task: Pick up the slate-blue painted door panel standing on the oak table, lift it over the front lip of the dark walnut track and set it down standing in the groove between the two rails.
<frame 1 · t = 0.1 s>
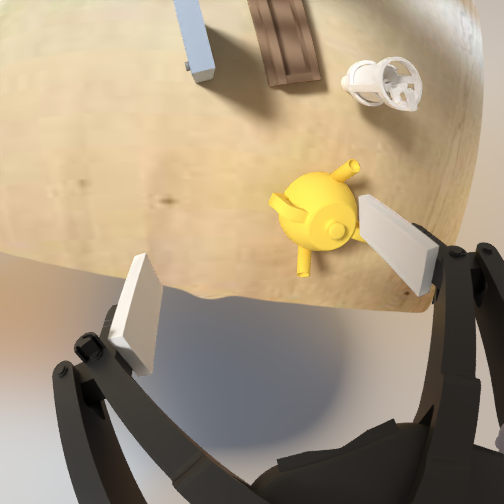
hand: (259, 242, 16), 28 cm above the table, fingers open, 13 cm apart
strainer: (349, 84, 36), on the table
teapot: (310, 203, 46), on the table
door panel: (196, 51, 31), on the table
track: (280, 25, 30), on the table
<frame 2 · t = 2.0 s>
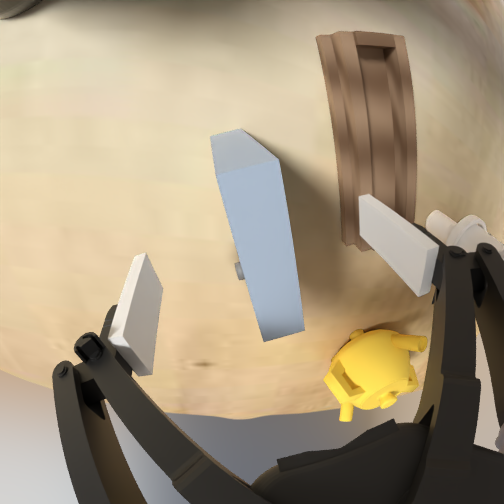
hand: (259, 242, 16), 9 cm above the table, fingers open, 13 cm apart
strainer: (433, 220, 29), on the table
teapot: (359, 346, 39), on the table
door panel: (239, 188, 23), on the table
track: (372, 139, 22), on the table
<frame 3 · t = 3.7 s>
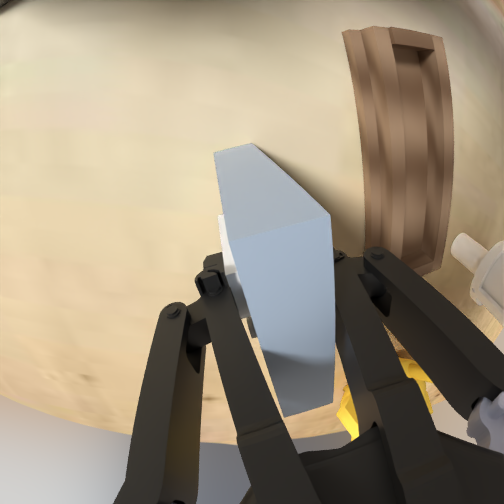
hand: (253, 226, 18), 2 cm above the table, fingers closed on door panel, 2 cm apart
strainer: (458, 243, 25), on the table
teapot: (372, 373, 35), on the table
door panel: (249, 216, 19), on the table, touching gripper
track: (403, 157, 18), on the table
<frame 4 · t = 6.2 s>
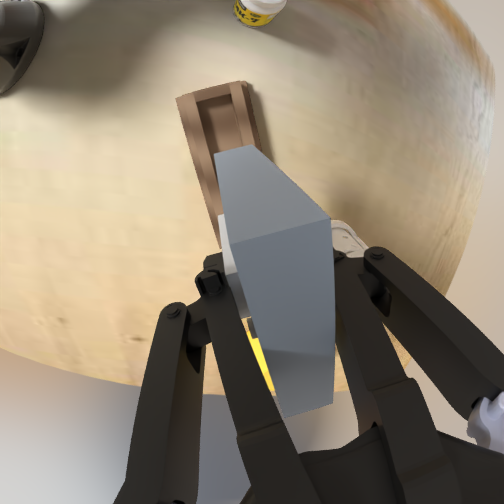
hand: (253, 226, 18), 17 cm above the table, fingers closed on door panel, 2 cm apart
strainer: (313, 226, 38), on the table
teapot: (268, 335, 48), on the table
supplement bottle: (253, 12, 23), on the table
door panel: (249, 217, 19), point 15 cm above the table, touching gripper
track: (230, 167, 32), on the table
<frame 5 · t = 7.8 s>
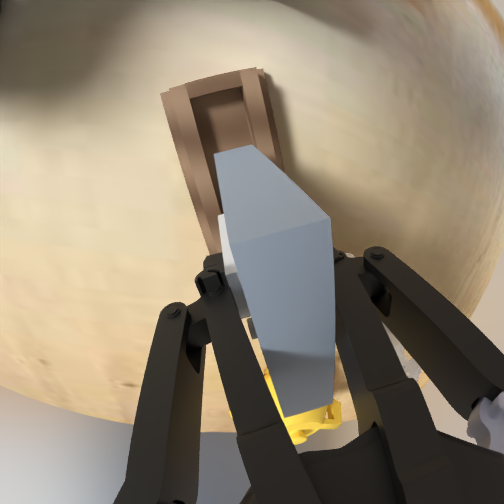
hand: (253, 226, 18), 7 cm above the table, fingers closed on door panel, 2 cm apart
strainer: (343, 263, 30), on the table
teapot: (280, 379, 40), on the table
door panel: (249, 217, 19), point 5 cm above the table, touching gripper
track: (239, 191, 24), on the table
when the fingers open (4 cm above the table, at t = 8.9 s): door panel drops 2 cm, resting on track.
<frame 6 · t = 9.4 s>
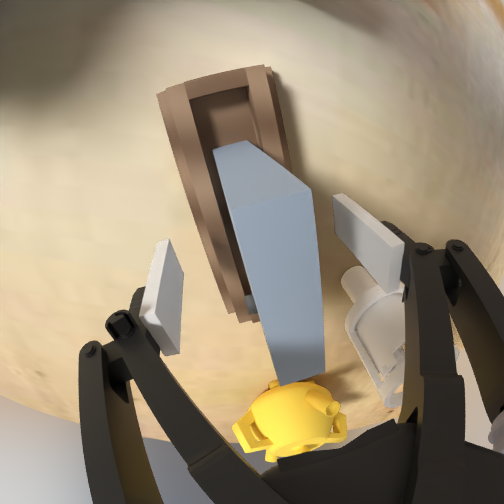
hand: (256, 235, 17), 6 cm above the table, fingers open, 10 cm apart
strainer: (353, 276, 28), on the table
teapot: (284, 392, 38), on the table
door panel: (245, 207, 21), point 1 cm above the table, touching track
track: (243, 202, 22), on the table
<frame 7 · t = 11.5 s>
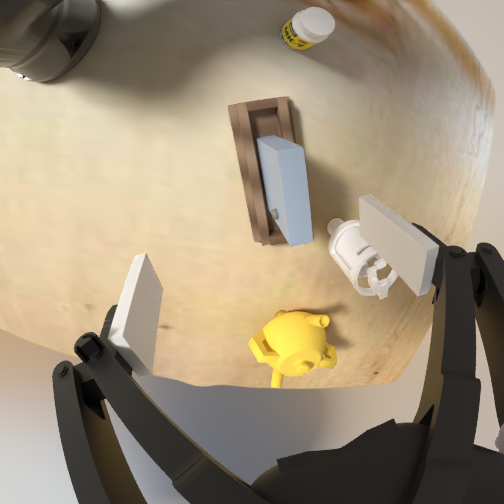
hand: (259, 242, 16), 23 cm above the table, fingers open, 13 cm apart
strainer: (335, 226, 43), on the table
teapot: (287, 326, 53), on the table
supplement bottle: (296, 36, 28), on the table
door panel: (270, 172, 37), point 1 cm above the table, touching track
track: (269, 170, 37), on the table
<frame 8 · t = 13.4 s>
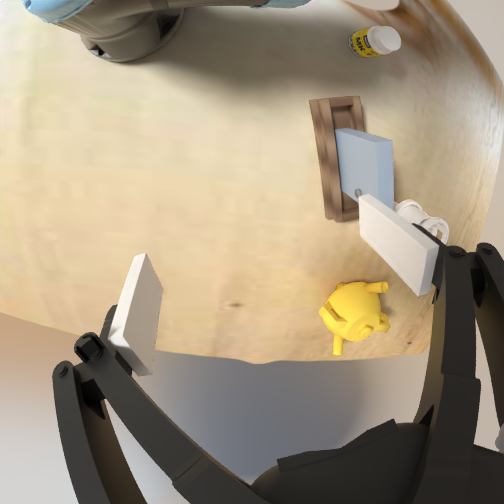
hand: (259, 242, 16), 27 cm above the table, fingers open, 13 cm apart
strainer: (387, 205, 47), on the table
teapot: (344, 297, 57), on the table
supplement bottle: (360, 44, 32), on the table
door panel: (343, 159, 40), point 1 cm above the table, touching track
track: (341, 157, 41), on the table
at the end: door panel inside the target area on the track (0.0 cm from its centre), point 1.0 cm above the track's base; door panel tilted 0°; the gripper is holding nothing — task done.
